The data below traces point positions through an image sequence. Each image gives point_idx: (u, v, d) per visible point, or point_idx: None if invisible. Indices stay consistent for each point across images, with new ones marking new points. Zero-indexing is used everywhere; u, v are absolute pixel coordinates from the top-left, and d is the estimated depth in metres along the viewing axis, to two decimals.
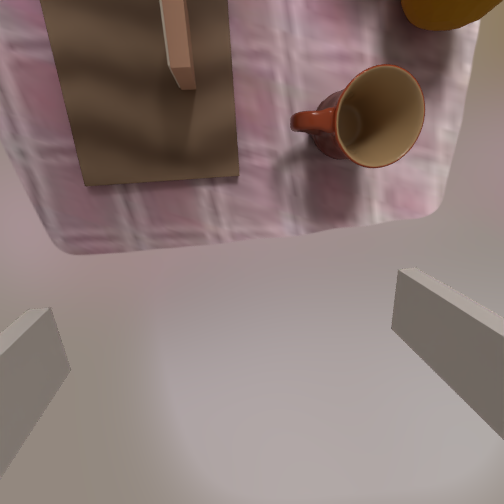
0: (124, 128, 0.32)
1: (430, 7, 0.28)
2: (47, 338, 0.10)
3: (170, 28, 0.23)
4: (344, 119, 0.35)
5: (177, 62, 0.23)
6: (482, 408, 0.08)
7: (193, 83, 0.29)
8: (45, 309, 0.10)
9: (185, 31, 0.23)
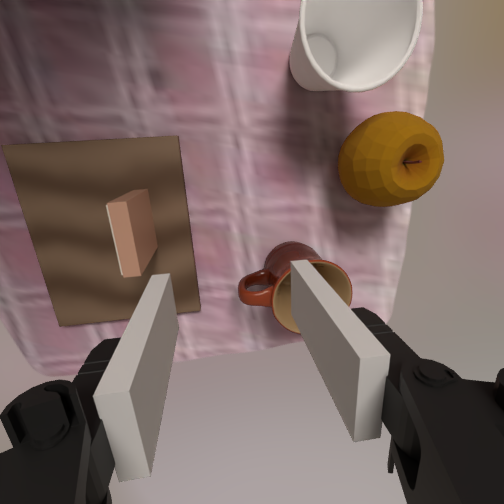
0: (93, 280, 0.36)
1: (357, 197, 0.31)
2: (170, 297, 0.12)
3: (122, 250, 0.26)
4: None
5: (129, 273, 0.27)
6: (324, 375, 0.10)
7: None
8: (167, 275, 0.12)
9: (135, 251, 0.27)
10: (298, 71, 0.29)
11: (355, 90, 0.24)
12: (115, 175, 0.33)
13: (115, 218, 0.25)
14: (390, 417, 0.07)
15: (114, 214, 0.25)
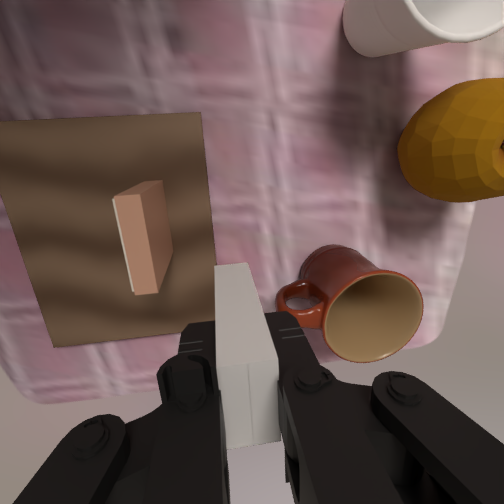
0: (95, 292, 0.30)
1: (430, 190, 0.25)
2: None
3: (133, 260, 0.20)
4: None
5: (142, 290, 0.21)
6: None
7: None
8: (229, 265, 0.13)
9: (150, 261, 0.20)
10: (361, 25, 0.22)
11: (459, 39, 0.17)
12: (121, 162, 0.26)
13: (125, 217, 0.19)
14: (281, 421, 0.07)
15: (124, 212, 0.19)
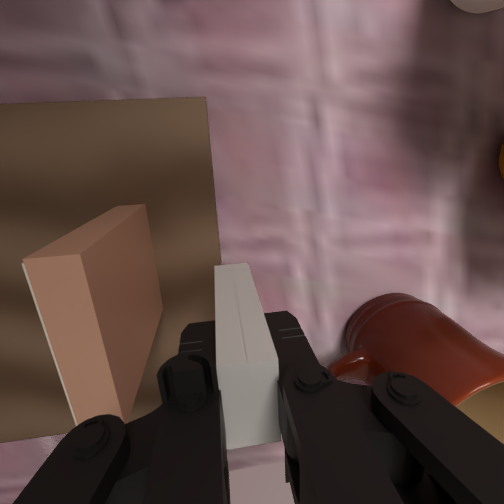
0: (45, 368, 0.20)
1: None
2: None
3: (74, 377, 0.10)
4: None
5: None
6: None
7: None
8: (229, 265, 0.13)
9: (109, 377, 0.10)
10: None
11: None
12: (79, 176, 0.16)
13: (51, 299, 0.09)
14: (281, 421, 0.07)
15: (49, 290, 0.09)
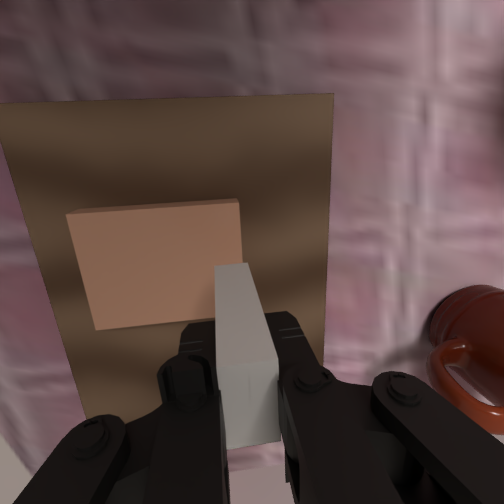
0: (153, 355, 0.20)
1: None
2: None
3: None
4: None
5: None
6: None
7: (198, 317, 0.18)
8: (229, 265, 0.13)
9: (86, 293, 0.17)
10: None
11: None
12: (209, 168, 0.17)
13: None
14: (281, 421, 0.07)
15: None
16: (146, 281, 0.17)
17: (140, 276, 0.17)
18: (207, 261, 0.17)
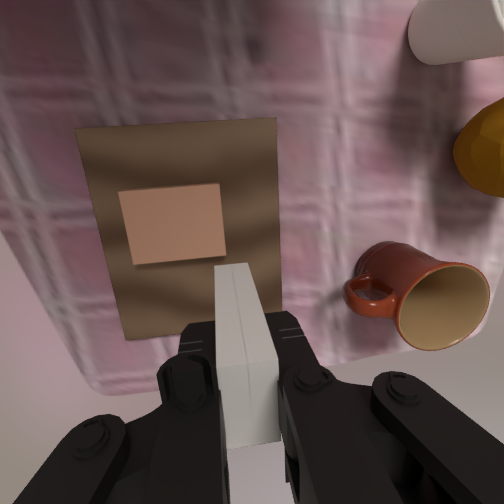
0: (167, 287, 0.31)
1: (493, 188, 0.26)
2: None
3: None
4: None
5: None
6: None
7: (196, 257, 0.29)
8: (229, 265, 0.13)
9: (128, 240, 0.28)
10: (434, 36, 0.24)
11: None
12: (201, 164, 0.28)
13: None
14: (281, 421, 0.07)
15: None
16: (164, 233, 0.28)
17: (160, 230, 0.28)
18: (201, 220, 0.28)
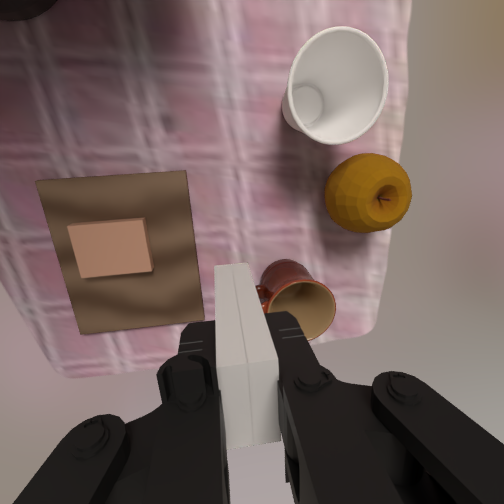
0: (111, 294, 0.41)
1: (340, 224, 0.36)
2: None
3: None
4: None
5: None
6: None
7: None
8: (229, 265, 0.13)
9: (76, 260, 0.37)
10: (289, 119, 0.34)
11: (334, 143, 0.29)
12: (131, 204, 0.38)
13: None
14: (281, 421, 0.07)
15: None
16: (103, 255, 0.38)
17: (100, 253, 0.37)
18: (130, 246, 0.38)
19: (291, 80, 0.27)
